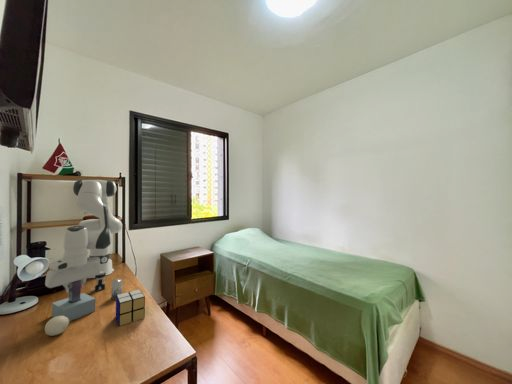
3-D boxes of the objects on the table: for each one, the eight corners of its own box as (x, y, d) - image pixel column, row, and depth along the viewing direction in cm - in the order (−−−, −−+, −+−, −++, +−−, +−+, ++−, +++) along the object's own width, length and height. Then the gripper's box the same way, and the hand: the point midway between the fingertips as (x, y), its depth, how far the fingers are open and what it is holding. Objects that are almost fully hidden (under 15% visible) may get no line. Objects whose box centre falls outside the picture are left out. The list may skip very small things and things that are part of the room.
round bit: (109, 297, 116) (110, 281, 116) (118, 294, 120) (119, 278, 120) (114, 300, 114) (114, 283, 114) (123, 296, 118) (124, 280, 118)
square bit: (68, 300, 100) (69, 281, 100) (77, 297, 102) (77, 278, 103) (71, 302, 98) (72, 282, 98) (80, 299, 101) (80, 280, 101)
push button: (91, 292, 122) (91, 275, 122) (91, 289, 126) (92, 272, 126) (105, 289, 126) (105, 272, 126) (105, 286, 130) (105, 270, 130)
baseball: (73, 330, 88) (73, 313, 88) (51, 341, 81) (51, 323, 81) (62, 326, 90) (63, 310, 90) (40, 337, 83) (41, 319, 83)
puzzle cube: (115, 316, 98) (116, 294, 98) (139, 309, 104) (140, 288, 105) (118, 327, 90) (119, 303, 90) (144, 318, 97) (145, 296, 97)
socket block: (51, 316, 98) (52, 302, 98) (83, 304, 108) (83, 292, 108) (63, 323, 92) (63, 309, 92) (95, 310, 102) (95, 298, 103)
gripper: (97, 254, 111) (96, 281, 111) (44, 265, 93) (43, 297, 93) (103, 256, 108) (102, 283, 108) (50, 267, 90) (49, 300, 90)
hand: (74, 290), depth 100 cm, fingers closed on square bit, 3 cm apart
